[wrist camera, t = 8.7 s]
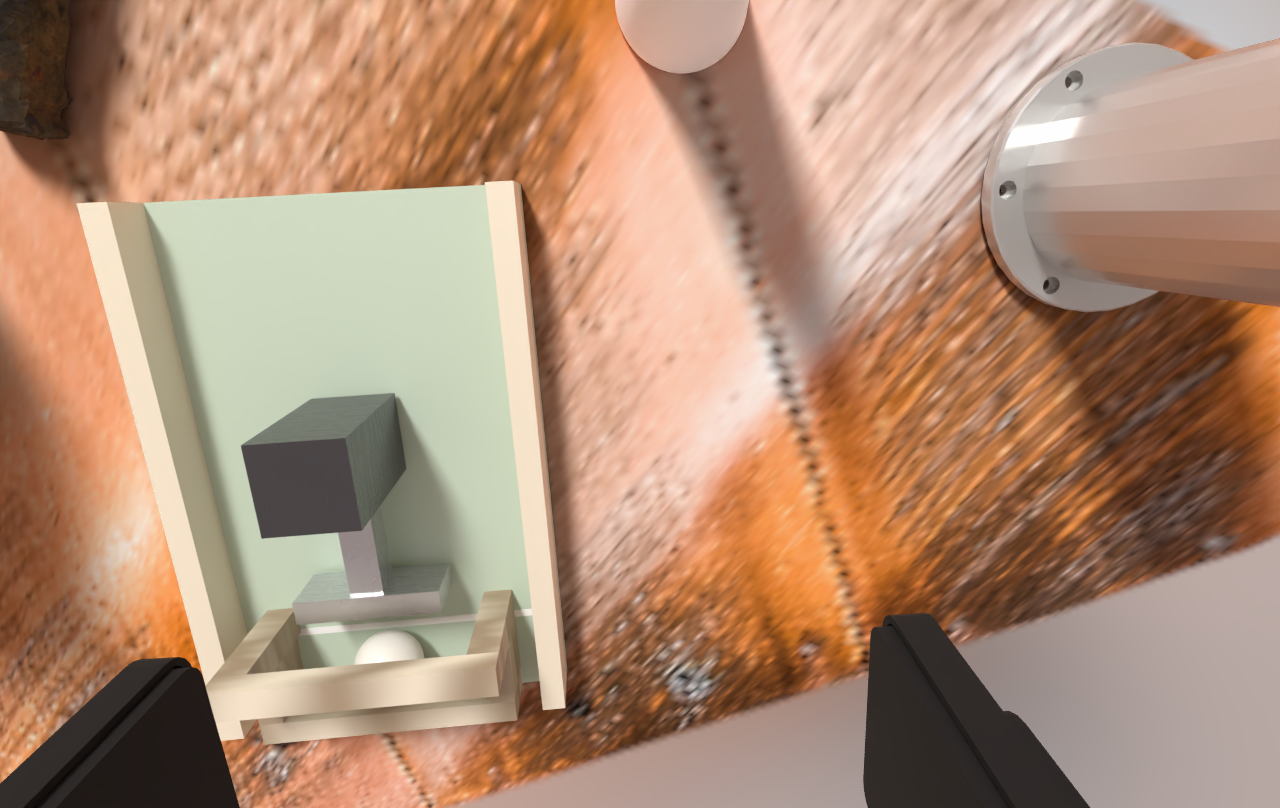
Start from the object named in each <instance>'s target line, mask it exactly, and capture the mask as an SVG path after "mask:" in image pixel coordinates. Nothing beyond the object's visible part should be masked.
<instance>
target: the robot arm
mask: <svg viewBox="0 0 1280 808" xmlns="http://www.w3.org/2000/svg"><path fill="white" fill-rule="evenodd" d="M1000 187H1001V193H1000V194H999V189H1000ZM981 202H982V220H983V226H984V230H985V234H986V238H987V242H988V245H989V248H990V250H991V252H992V254H993V256H994V258H995V260H996V262H997V264H998V266H999V267H1000V268H1001V270H1002V271H1003V272H1004V274H1005V275H1006V276H1007V277H1008V279H1009V280H1010V281H1011V282H1012V283H1013V284H1014V285H1015V286H1017V287H1018V288H1019V289H1020V290H1022V291H1023V292H1024V293H1025V294H1026V295H1028V296H1030V297H1032V298H1034V299H1036V300H1038V301H1040V302H1042V303H1044V304H1047V305H1051V306H1055V307H1059V308H1063V309H1067V310H1075V311H1082V312H1097V311H1110V310H1114V309H1118V308H1122V307H1125V306H1129V305H1132V304H1135V303H1137V302H1139V301H1141V300H1143V299H1146V298H1148V297H1150V296H1152V295H1154V294H1156V293H1157V292H1158V291H1164V292H1171V293H1179V294H1186V295H1194V296H1201V297H1209V298H1216V299H1224V300H1231V301H1239V302H1246V303H1254V304H1261V305H1269V306H1276V307H1280V38H1279V39H1275V40H1272V41H1267V42H1263V43H1259V44H1256V45H1252V46H1248V47H1244V48H1240V49H1236V50H1232V51H1228V52H1224V53H1220V54H1216V55H1213V56H1209V57H1205V58H1201V59H1197V60H1193V59H1192V58H1190V57H1188V56H1187V55H1185V54H1183V53H1182V52H1180V51H1178V50H1174V49H1171V48H1168V47H1165V46H1162V45H1158V44H1148V43H1127V44H1120V45H1114V46H1108V47H1105V48H1102V49H1098V50H1095V51H1092V52H1089V53H1086V54H1083V55H1081V56H1079V57H1077V58H1075V59H1073V60H1071V61H1069V62H1066V63H1064V64H1062V65H1060V66H1059V67H1058V68H1056V69H1055V70H1053V71H1052V72H1051V73H1049V74H1048V75H1046V76H1045V77H1044V78H1042V79H1041V80H1040V81H1038V82H1037V83H1036V84H1035V85H1034V86H1033V87H1032V88H1031V89H1030V90H1029V92H1028V93H1027V94H1026V95H1025V96H1024V97H1023V98H1022V99H1021V100H1020V101H1019V102H1018V104H1017V105H1016V106H1015V108H1014V109H1013V111H1012V112H1011V114H1010V115H1009V116H1008V118H1007V119H1006V121H1005V122H1004V124H1003V126H1002V128H1001V130H1000V132H999V134H998V136H997V138H996V140H995V142H994V144H993V146H992V149H991V152H990V156H989V159H988V162H987V166H986V169H985V172H984V180H983V188H982V196H981ZM863 778H864V779H863V780H864V792H865V798H866V802H867V806H868V808H1090V807H1089V806H1088V804H1087V803H1086V802H1085V801H1084V799H1083V798H1082V797H1081V795H1080V794H1079V793H1078V791H1077V790H1076V789H1075V788H1074V786H1073V785H1072V783H1071V782H1070V781H1069V780H1068V778H1067V777H1066V776H1065V774H1064V773H1063V772H1062V771H1061V769H1060V768H1059V766H1058V765H1057V764H1056V763H1055V761H1054V760H1053V759H1052V757H1051V756H1050V755H1049V753H1048V752H1047V751H1046V750H1045V748H1044V747H1043V746H1042V744H1041V743H1040V742H1039V740H1038V739H1037V738H1036V737H1035V735H1034V734H1033V733H1032V732H1031V730H1030V729H1029V727H1028V726H1027V725H1026V724H1025V723H1024V722H1023V721H1022V720H1021V719H1020V718H1019V717H1018V715H1016V714H1014V713H1012V712H1010V711H1002V709H1001V708H1000V707H999V705H998V704H997V703H996V701H995V700H994V699H993V697H992V696H991V694H990V693H989V692H988V690H987V689H986V688H985V686H984V685H983V684H982V682H981V681H980V680H979V678H978V677H977V676H976V674H975V673H974V672H973V670H972V669H971V668H970V666H969V665H968V664H967V662H966V661H965V659H964V658H963V657H962V656H961V654H960V653H959V651H958V650H957V649H956V647H955V646H954V645H953V643H952V642H951V641H950V639H949V638H948V637H947V635H946V634H945V633H944V631H943V630H942V629H941V627H940V626H939V625H938V623H937V622H936V620H935V619H934V618H933V617H932V616H931V615H930V614H927V613H920V614H903V615H888V616H886V617H885V619H884V621H883V627H874V628H873V629H872V631H871V638H870V658H869V678H868V698H867V718H866V738H865V758H864V777H863ZM0 808H240V807H239V804H238V800H237V797H236V793H235V790H234V786H233V783H232V779H231V775H230V772H229V768H228V765H227V761H226V758H225V754H224V751H223V747H222V743H221V740H220V736H219V733H218V729H217V726H216V722H215V719H214V715H213V712H212V708H211V704H210V701H209V697H208V694H207V690H206V687H205V683H204V680H203V676H202V674H201V672H200V671H199V670H198V669H197V668H193V667H191V665H190V663H189V662H188V661H187V660H186V659H185V658H180V657H174V658H157V659H141V660H137V661H134V662H132V663H131V664H129V665H128V666H126V667H125V668H124V669H123V670H122V671H121V672H120V673H119V674H118V675H117V676H116V677H115V678H114V679H112V680H111V681H110V682H109V683H108V684H107V685H106V686H105V687H104V688H103V689H102V690H101V691H100V692H98V693H97V694H96V695H95V696H94V697H93V698H92V699H91V700H90V701H89V702H88V703H87V704H86V705H84V706H83V707H82V708H81V709H80V710H79V711H78V712H77V713H76V714H75V715H74V716H73V717H72V718H70V719H69V720H68V721H67V722H66V723H65V724H64V725H63V726H62V727H61V728H60V729H59V730H58V731H56V732H55V733H54V734H53V735H52V736H51V737H50V738H49V739H48V740H47V741H46V742H45V743H44V744H42V745H41V746H40V747H39V748H38V749H37V750H36V751H35V752H34V753H33V754H32V755H31V756H30V757H28V758H27V759H26V760H25V761H24V762H23V763H22V764H21V765H20V766H19V767H18V768H17V769H16V770H14V771H13V772H12V773H11V774H10V775H9V776H8V777H7V778H6V779H5V780H4V781H3V782H2V783H0Z"/></svg>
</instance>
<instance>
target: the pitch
mask: <svg viewBox="0 0 1280 808" xmlns="http://www.w3.org/2000/svg"><path fill="white" fill-rule="evenodd" d="M77 207H78V210H79V214H80V218H81V222H82V225H83V229H84V233H85V237H86V240H87V244H88V248H89V252H90V255H91V259H92V263H93V266H94V270H95V274H96V278H97V281H98V285H99V289H100V293H101V296H102V300H103V304H104V308H105V311H106V315H107V319H108V322H109V326H110V330H111V334H112V337H113V341H114V345H115V349H116V352H117V356H118V360H119V364H120V367H121V371H122V375H123V378H124V382H125V386H126V390H127V393H128V397H129V401H130V405H131V408H132V412H133V416H134V420H135V423H136V427H137V431H138V434H139V438H140V442H141V446H142V449H143V453H144V457H145V461H146V464H147V468H148V472H149V475H150V479H151V483H152V487H153V490H154V494H155V498H156V502H157V505H158V509H159V513H160V517H161V520H162V524H163V528H164V531H165V535H166V539H167V543H168V546H169V550H170V554H171V558H172V561H173V565H174V569H175V573H176V576H177V580H178V584H179V587H180V591H181V595H182V599H183V602H184V606H185V610H186V614H187V617H188V621H189V625H190V629H191V632H192V636H193V640H194V643H195V647H196V651H197V655H198V658H199V662H200V666H201V670H202V673H203V677H204V681H205V685H207V684H208V682H209V681H210V680H211V679H212V677H213V676H214V675H215V674H216V673H217V671H218V670H219V669H220V668H221V666H222V665H223V664H224V663H225V662H226V660H227V659H228V658H229V657H230V655H231V654H232V653H233V652H234V650H235V649H236V648H237V647H238V646H239V644H240V643H241V642H242V641H243V639H244V638H245V637H246V636H247V635H248V633H249V632H250V631H251V630H252V628H253V627H254V626H255V625H256V623H257V622H258V621H259V620H260V619H261V617H262V616H263V615H264V614H265V612H266V611H267V610H275V609H287V608H293V606H292V603H293V601H294V600H295V599H296V598H297V596H298V595H299V594H300V592H301V591H302V590H303V588H304V587H305V586H306V584H307V583H308V582H309V581H310V579H311V578H312V577H313V575H314V574H322V573H334V572H345V567H344V561H343V556H342V551H341V546H340V541H339V535H338V533H327V534H315V535H302V536H289V537H277V538H264V539H262V538H261V534H260V529H259V525H258V521H257V516H256V512H255V507H254V503H253V498H252V494H251V490H250V485H249V481H248V476H247V472H246V467H245V463H244V459H243V454H242V450H241V445H242V444H244V443H245V442H247V441H248V440H250V439H251V438H253V437H254V436H256V435H257V434H259V433H260V432H262V431H263V430H265V429H266V428H268V427H269V426H271V425H272V424H274V423H275V422H277V421H278V420H280V419H281V418H283V417H284V416H286V415H287V414H289V413H290V412H292V411H293V410H295V409H297V408H298V407H300V406H301V405H303V404H304V403H306V402H307V401H309V400H310V399H314V398H329V397H343V396H358V395H373V394H387V393H395V399H396V406H397V412H398V418H399V425H400V431H401V437H402V444H403V450H404V457H405V463H406V470H405V472H404V473H403V475H402V476H401V477H400V479H399V480H398V481H397V483H396V484H395V486H394V487H393V488H392V490H391V491H390V493H389V494H388V495H387V497H386V498H385V500H384V501H383V502H382V504H381V505H380V506H381V512H382V518H383V524H384V530H385V535H386V541H387V547H388V553H389V559H390V565H391V568H394V567H407V566H419V565H431V564H443V563H450V569H451V576H452V582H453V583H452V586H451V589H450V591H449V594H448V597H447V600H446V602H445V605H444V608H443V610H442V613H432V614H420V615H409V616H397V617H385V618H374V619H362V620H351V621H339V622H328V623H316V624H304V625H300V629H301V633H300V635H299V636H298V638H297V641H298V646H299V650H300V655H301V659H302V664H303V668H304V669H313V668H324V667H335V666H347V665H354V660H355V657H356V654H357V652H358V651H359V649H360V647H361V646H362V645H363V643H364V642H365V641H366V640H367V639H368V638H370V637H371V636H372V635H374V634H376V633H378V632H381V631H384V630H389V629H397V630H402V631H405V632H408V633H409V634H411V635H412V636H414V637H415V638H416V639H417V641H418V642H419V643H420V645H421V647H422V650H423V653H424V658H435V657H447V656H458V655H467V651H468V647H469V644H470V640H471V637H472V633H473V629H474V626H475V622H476V619H477V615H478V612H479V608H480V604H481V601H482V597H483V594H484V592H487V591H499V590H511V589H512V596H513V604H514V613H515V621H516V630H517V638H518V647H519V655H520V664H521V672H522V681H523V683H525V682H536V681H540V689H541V698H542V707H543V710H549V709H560V708H565V703H566V682H567V660H566V650H565V639H564V629H563V618H562V608H561V598H560V587H559V577H558V566H557V556H556V546H555V535H554V525H553V514H552V504H551V493H550V483H549V473H548V462H547V452H546V441H545V431H544V421H543V410H542V400H541V389H540V379H539V369H538V358H537V348H536V337H535V327H534V316H533V306H532V296H531V285H530V275H529V264H528V254H527V244H526V233H525V223H524V212H523V202H522V192H521V184H519V183H517V182H515V181H499V182H485V185H476V186H457V187H437V188H418V189H399V190H380V191H361V192H342V193H323V194H303V195H284V196H265V197H246V198H227V199H208V200H189V201H169V202H150V203H129V202H95V203H77ZM256 720H257V719H252V720H241V721H230V722H219V723H216V726H217V729H218V733H219V736H220V740H221V741H223V740H234V739H244V738H245V736H246V735H247V733H248V732H249V730H250V729H251V727H252V726H253V724H254V723H255V721H256Z"/></svg>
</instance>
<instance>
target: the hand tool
mask: <svg viewBox="0 0 1280 808" xmlns="http://www.w3.org/2000/svg"><path fill="white" fill-rule="evenodd" d="M70 4H71V0H0V131H4V132H8V133H13V134H17V135H22V136H28V137H33V138H37V139H41V140H43V139H45V138H46V139H64V138H69V136H70V132H69V130H68V128H67V127H66V125H65V124H64V122H63V121H62V119H61V114H60V112H61V111H62V109H64V108H66V107H67V106H68V104H69V103H70V102H71V101H72V97H71V95H70V93H69V92H68V91H66V90H65V89H64V77H65V60H66V55H67V49H68V45H69V34H70V25H71V24H70V21H69V15H70Z"/></svg>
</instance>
